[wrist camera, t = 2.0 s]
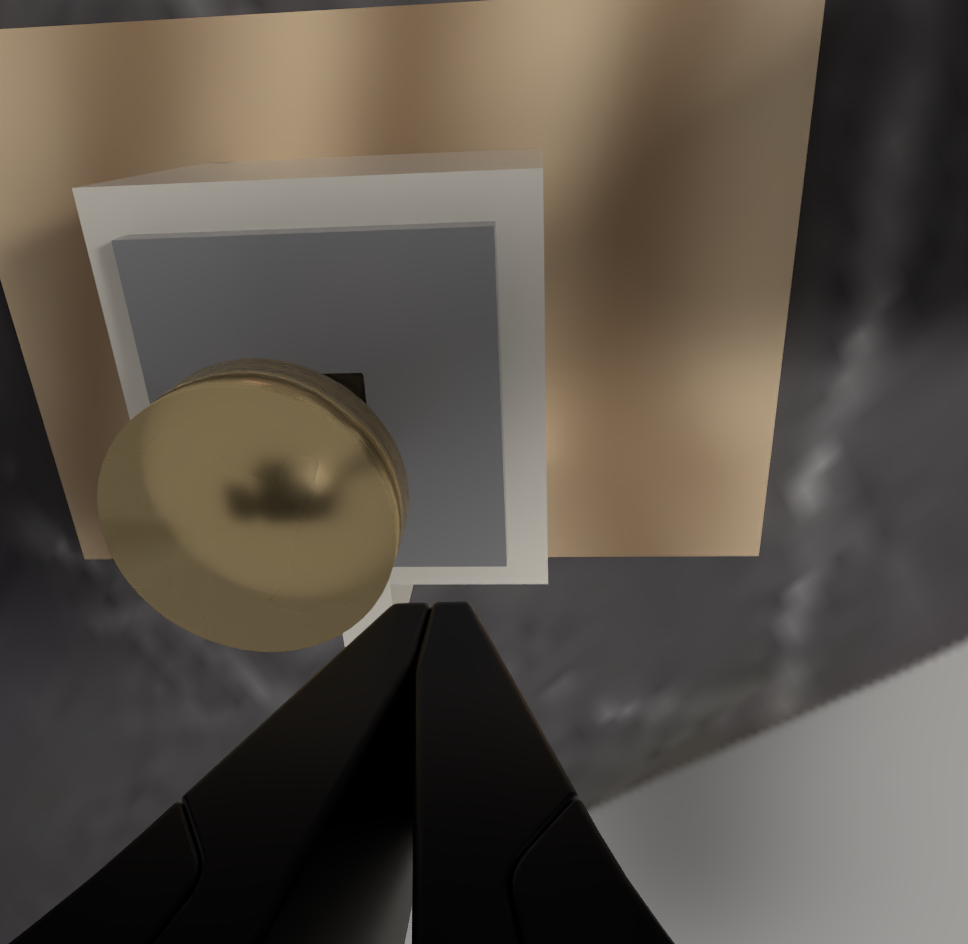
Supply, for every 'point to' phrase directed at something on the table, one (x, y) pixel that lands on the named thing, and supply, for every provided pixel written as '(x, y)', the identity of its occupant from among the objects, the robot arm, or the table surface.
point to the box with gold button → (359, 321)
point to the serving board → (455, 128)
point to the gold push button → (256, 504)
